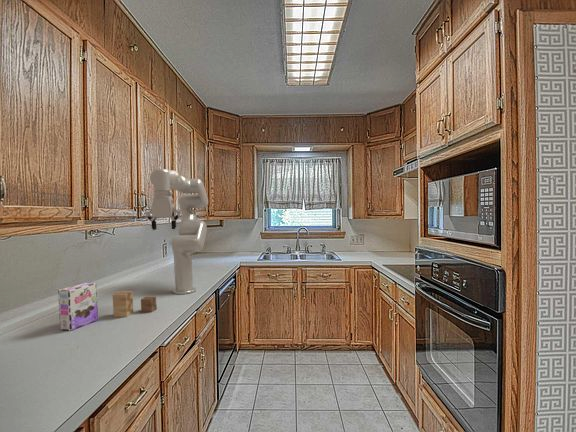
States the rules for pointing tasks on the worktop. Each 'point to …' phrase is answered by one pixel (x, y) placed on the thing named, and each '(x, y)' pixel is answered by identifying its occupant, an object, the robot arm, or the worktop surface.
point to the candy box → (77, 306)
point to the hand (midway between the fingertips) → (164, 229)
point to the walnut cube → (148, 304)
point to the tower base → (123, 310)
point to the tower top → (122, 298)
